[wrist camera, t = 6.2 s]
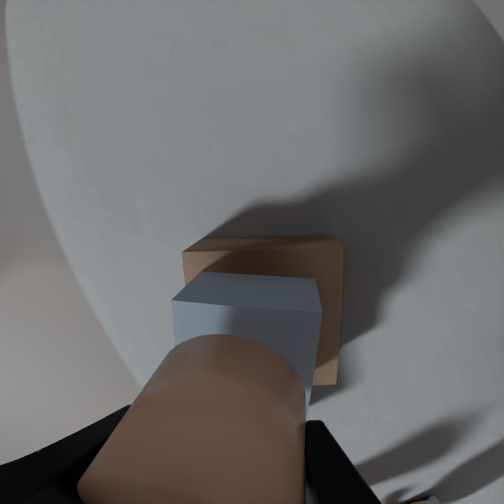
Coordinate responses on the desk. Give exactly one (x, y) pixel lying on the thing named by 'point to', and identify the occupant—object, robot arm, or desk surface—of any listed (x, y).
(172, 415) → the clay cylinder
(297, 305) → the tower mid
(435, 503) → the kitten
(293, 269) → the tower base
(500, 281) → the desk surface
